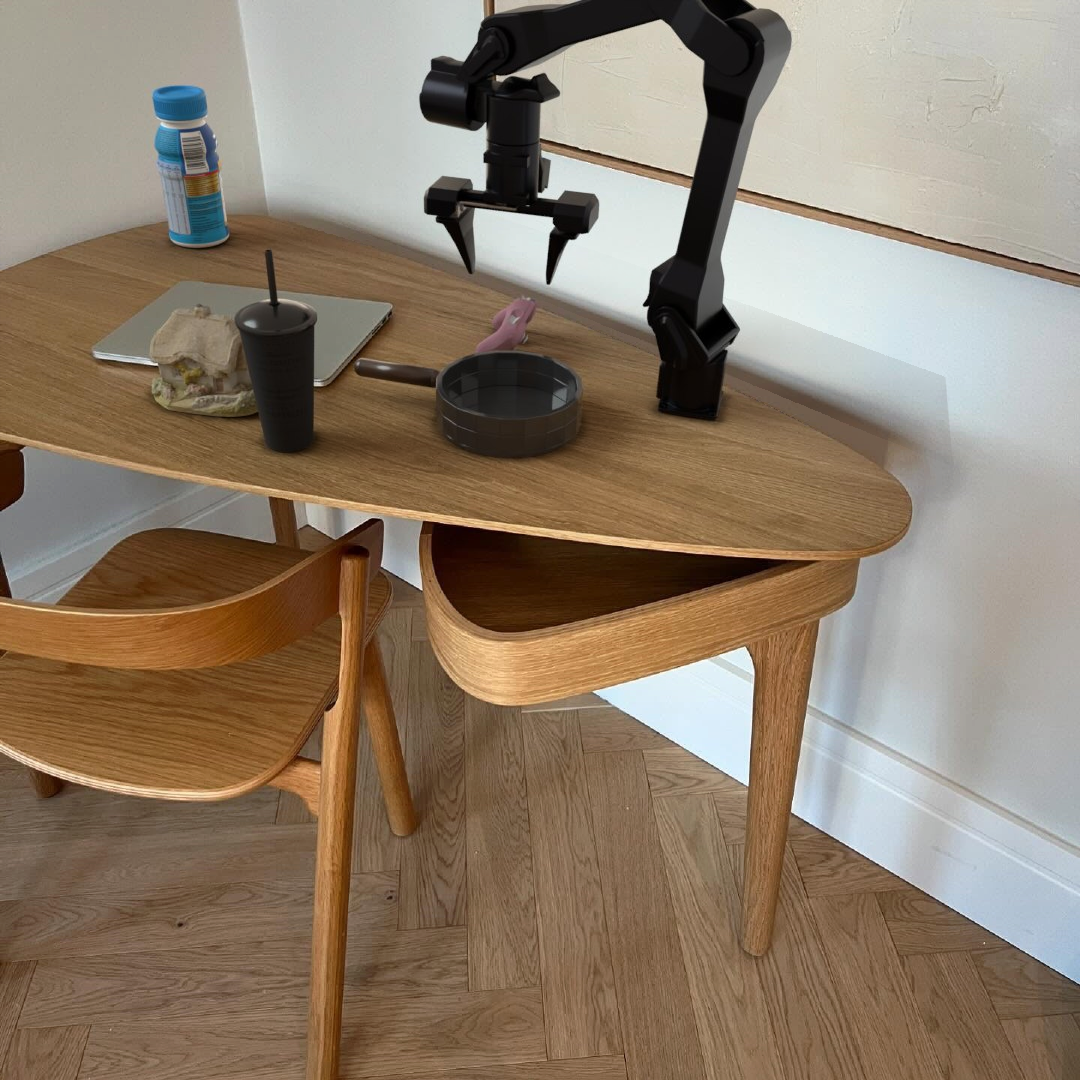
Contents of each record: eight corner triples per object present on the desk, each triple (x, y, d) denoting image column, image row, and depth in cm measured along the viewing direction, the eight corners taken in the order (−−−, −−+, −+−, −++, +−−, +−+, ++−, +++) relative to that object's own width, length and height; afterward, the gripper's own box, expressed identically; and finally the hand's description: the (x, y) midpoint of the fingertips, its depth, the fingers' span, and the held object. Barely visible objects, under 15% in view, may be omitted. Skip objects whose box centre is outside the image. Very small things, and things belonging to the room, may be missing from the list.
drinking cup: (292, 468, 107) (270, 273, 95) (235, 444, 110) (206, 253, 98) (343, 436, 112) (328, 247, 101) (287, 414, 115) (266, 229, 104)
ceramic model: (129, 401, 116) (111, 314, 111) (191, 358, 125) (177, 275, 119) (243, 428, 113) (231, 339, 107) (299, 381, 121) (290, 297, 116)
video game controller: (504, 377, 127) (532, 331, 123) (470, 357, 127) (498, 310, 123) (522, 341, 135) (549, 297, 131) (490, 322, 135) (517, 277, 130)
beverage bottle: (158, 246, 152) (133, 96, 140) (184, 225, 159) (162, 80, 147) (216, 252, 151) (195, 101, 139) (240, 231, 158) (221, 85, 146)
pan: (593, 399, 121) (596, 362, 118) (560, 468, 109) (563, 429, 106) (462, 378, 124) (462, 341, 121) (416, 443, 112) (415, 405, 109)
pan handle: (446, 384, 117) (445, 367, 116) (440, 392, 115) (439, 375, 114) (358, 370, 119) (357, 353, 117) (351, 378, 117) (350, 361, 116)
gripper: (613, 128, 121) (604, 263, 130) (453, 111, 124) (455, 244, 133) (592, 156, 112) (583, 299, 121) (420, 137, 116) (424, 277, 125)
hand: (510, 278), depth 125 cm, fingers open, 9 cm apart
